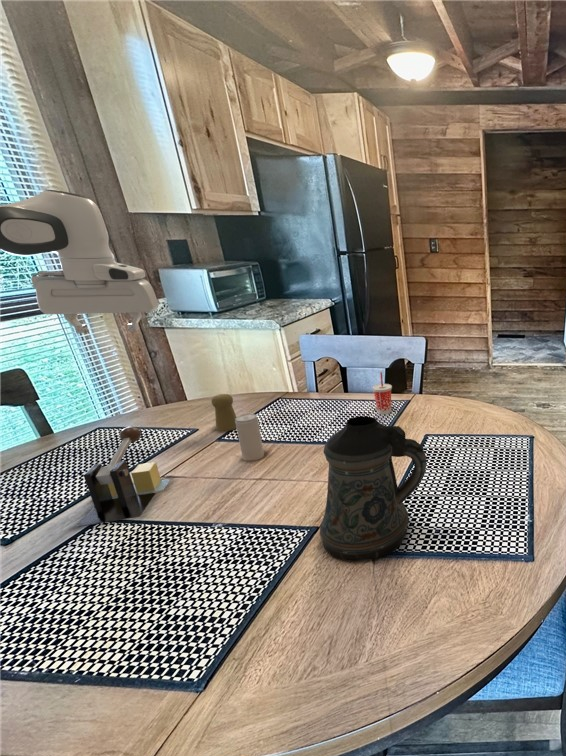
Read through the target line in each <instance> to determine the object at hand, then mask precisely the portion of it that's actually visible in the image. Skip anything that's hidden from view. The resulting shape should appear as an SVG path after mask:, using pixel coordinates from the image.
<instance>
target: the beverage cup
mask: <svg viewBox="0 0 566 756" xmlns="http://www.w3.org/2000/svg"><path fill="white" fill-rule="evenodd" d="M392 389H393V385H392V384H389V383H384V381H383V372H382V371H381V372H380V383H378V384H375V385H373V386H372V391H373V395H374V401H375V407H376V413H377V414H378V415H388V414H390V413H391V412H392Z"/></svg>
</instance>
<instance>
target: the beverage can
mask: <svg viewBox="0 0 566 756" xmlns="http://www.w3.org/2000/svg"><path fill="white" fill-rule="evenodd" d="M236 417H237V418H236V419H235V420H236V421H235V423H236V431H237V437H238V442H239V447H240V452H241V457H242V460H244V461H246V462H247V461H248V462H249V461H259V460H261V459H262V458H263V457H264V456H265V452H264V445H263V441H262V435H261V429H260V424H259V423H260V422H259V418H258V416H257V414H255V413H245V414H241V415H238V416H236Z"/></svg>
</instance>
